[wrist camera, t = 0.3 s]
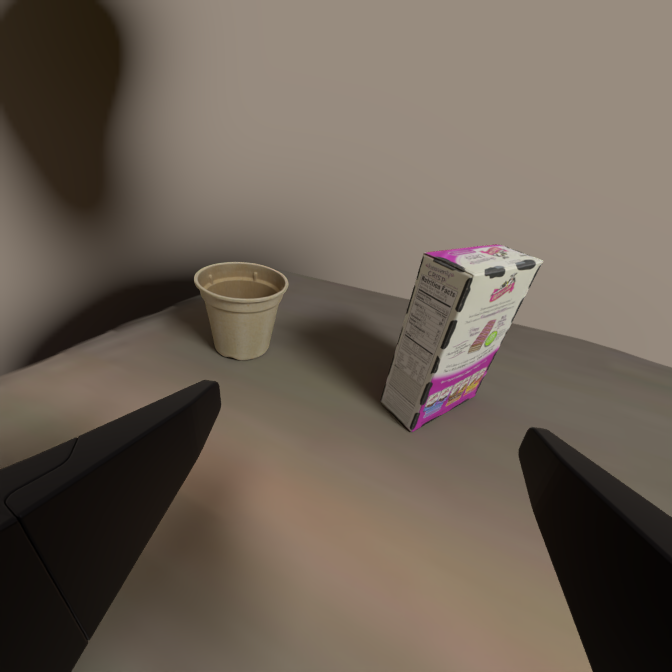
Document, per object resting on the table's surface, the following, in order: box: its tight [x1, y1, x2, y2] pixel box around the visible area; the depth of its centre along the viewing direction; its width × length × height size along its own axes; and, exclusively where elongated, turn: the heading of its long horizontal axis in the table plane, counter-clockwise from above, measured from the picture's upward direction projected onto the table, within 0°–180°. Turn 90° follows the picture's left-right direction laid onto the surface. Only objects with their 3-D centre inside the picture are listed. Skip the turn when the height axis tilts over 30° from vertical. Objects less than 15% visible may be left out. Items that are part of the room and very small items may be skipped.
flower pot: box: [194, 262, 288, 360], centre depth 35 cm, size 9×9×9 cm
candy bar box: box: [381, 244, 543, 432], centre depth 30 cm, size 11×5×16 cm, turn 126°
